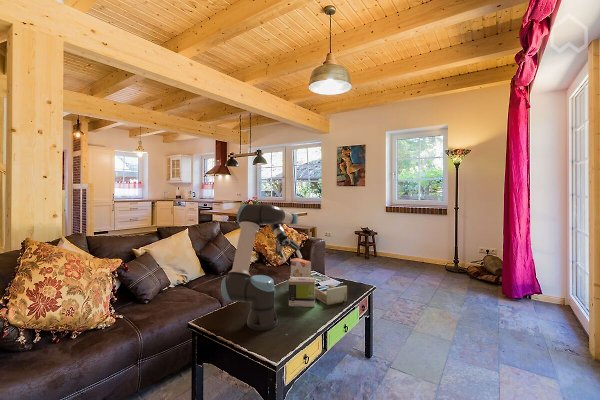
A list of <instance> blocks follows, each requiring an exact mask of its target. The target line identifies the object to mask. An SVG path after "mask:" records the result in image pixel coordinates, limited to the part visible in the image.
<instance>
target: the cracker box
mask: <svg viewBox="0 0 600 400" xmlns="http://www.w3.org/2000/svg"><path fill="white" fill-rule="evenodd" d="M290 277H312V261H310V260H305V259H304V258H301V259H299V257H296V258H295V257H294V258H291V259H290Z"/></svg>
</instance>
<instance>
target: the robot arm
mask: <svg viewBox="0 0 600 400" xmlns="http://www.w3.org/2000/svg"><path fill="white" fill-rule="evenodd" d="M236 222H237V223H238V226H239V227H240V231H239V236H238V240H237V245H236V249H235V254H234V259H233V262H232V269H231V270H230V271H229V272H228V273H227V276H224V277H223V278H222V280H221V285H220V294H221V296H222V298H223V299H224V300H225V301H229V302H232V303H233V302H236V303H237V302H239V303H249V304H250V311H249V313H248V316H247V321H246V326H247V327H248V328H249V329H251V330H253V331H259V332H260V331H268V330H271V329H274V328H275V327H277V325H278V321H279V320H278V316H277V311H276V310H275V281H274V279H273V278H272V277H270V276H268V275H264V274H258V275H257V274H255V275H251V274H250V272H249V271H250V265H251V260H252V255H253V251H254V243H255V240H256V239H255V238H256V234H257V231H258V230H259V229H260V226H261V225H269V228H271V231H272V232H273V234H274V236H275V238H276V240H275V242H274V243H275V254H276V255H277V256H279V257H280V258H281V260H282V262H283V263H286V261H287V258H286V256H285V255H284V253H283V247H289V248H291V249H293V250H294V251H295V253H296V255H297V258H299V259H303V256H302V253H301V251H300V249H301V246H299V244H297V242H295V241H294V240H293V238H290V239H289V238H288V235H287V233H286V231H285V229H284V228H283V226H282V225H297V224H298V222H299V216H298V214H297V213H291V212H290V213H289V212H287V211H284V209H283V208H281V207H280V206H276V205H273V204H268V203H243V204H242V205H240V206H239V207H238V209H237V214H236Z"/></svg>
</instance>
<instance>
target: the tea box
mask: <svg viewBox="0 0 600 400" xmlns="http://www.w3.org/2000/svg"><path fill="white" fill-rule="evenodd" d="M315 287H316V278H315V276H311V277H291V276H290V277H289V279H288V306H289V307H307V308H308V307H309V308H315V303H316V298H315Z"/></svg>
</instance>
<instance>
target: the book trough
mask: <svg viewBox="0 0 600 400" xmlns="http://www.w3.org/2000/svg"><path fill="white" fill-rule="evenodd" d="M327 287H328V288H327V289H326V290H324V291H323V290H321V289H319V288H317V287H316V286H315V299H317V300H318V301H320V302H322V303H323V304H325V305H327V306H329V305H334V304H335V305H336V304H339V303H344V302H347V301H348V286H347V285H342V286H337V287H336V286H334V285H333V284H330V283H329V284H328V286H327ZM343 301H344V302H343Z"/></svg>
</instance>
